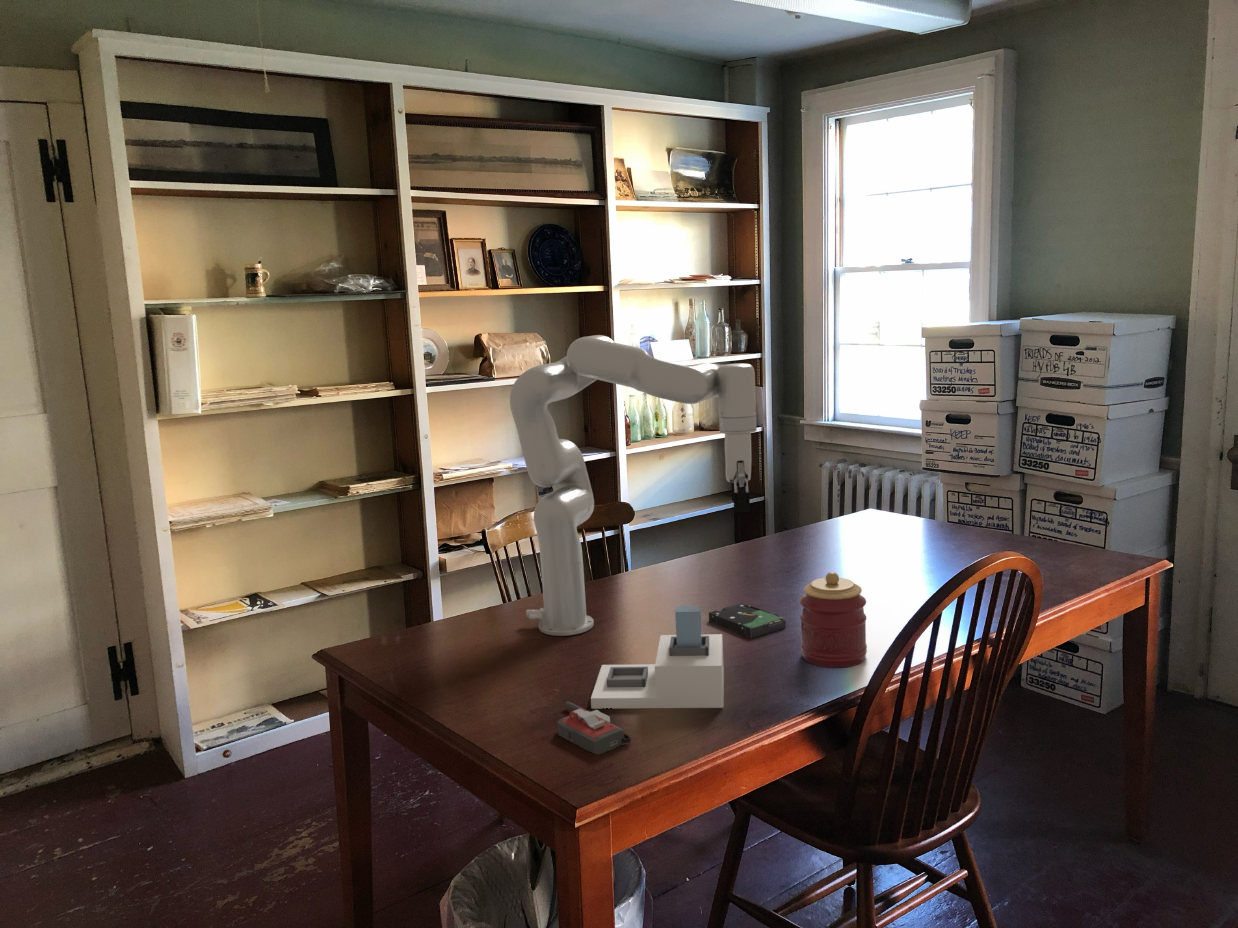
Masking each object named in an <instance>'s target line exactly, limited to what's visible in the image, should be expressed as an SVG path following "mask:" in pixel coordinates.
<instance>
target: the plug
mask: <svg viewBox="0 0 1238 928" xmlns="http://www.w3.org/2000/svg"><path fill="white" fill-rule="evenodd" d="M701 611H702V610H701V605H676V606H675V612H674V613H675V614H674V615H675V631H676V632H675V635H676V638H677V647H702V635H703V634H702V615H701Z"/></svg>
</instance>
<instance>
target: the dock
mask: <svg viewBox="0 0 1238 928" xmlns="http://www.w3.org/2000/svg"><path fill="white" fill-rule="evenodd" d="M723 644H724V643H723V634H722V633H719V634H716V633H715V634H714V633H710V634H706V633H705V634H702V647H677V638H676V634H660V637H659V643H658V647H657V652H656V657H655V662H654V663H653V664H651V663H649V664H647V663H645V664H642V663H641V664H640V663H639V664H638V663H637V664H601V667H600V669H599V673H598V675H597V678H596V681H595V685H594V687H593V688H594V689H593V691H592V694H591V695H590V696H591V697H590V706H591V707H590V708H591V709H592V710H593V709H594V710H598V709H601V710H602V709H603V708H604V709H606V708H608V709H610V708H612V709H724V694H725V693H724V691H725V690H724V689H725V687H724V685H725V683H724V682H725V681H724V680H725V669H724V666H725V665H724V648H723Z"/></svg>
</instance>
